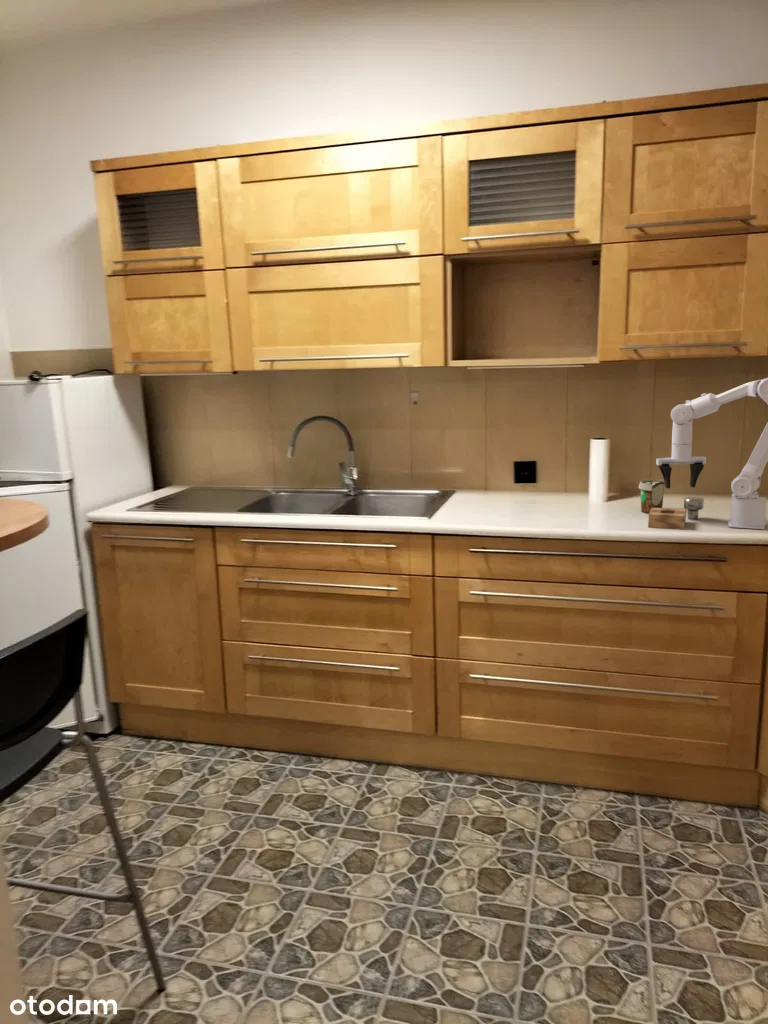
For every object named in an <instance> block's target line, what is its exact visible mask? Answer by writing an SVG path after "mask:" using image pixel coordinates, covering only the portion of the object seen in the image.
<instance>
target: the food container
mask: <svg viewBox="0 0 768 1024" xmlns="http://www.w3.org/2000/svg"><path fill="white" fill-rule="evenodd" d="M638 489H639V490H640V509H641V512H642V513H644V514H646V515H649V512H650V510H651V508H664V507H663V505H664V492H665V491H664V489H665V482H664V478H646V479H642V480H640V482H639V485H638Z"/></svg>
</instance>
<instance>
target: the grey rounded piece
mask: <svg viewBox="0 0 768 1024" xmlns="http://www.w3.org/2000/svg"><path fill="white" fill-rule="evenodd" d="M704 501H705V498H703V497H699V496H686V497H684V499H683V509H686V510H687V520H690V521H695V520H696V521H697V520H699V511H700V510H703V509H704V503H705V502H704Z"/></svg>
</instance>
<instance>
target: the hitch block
mask: <svg viewBox="0 0 768 1024" xmlns="http://www.w3.org/2000/svg"><path fill="white" fill-rule="evenodd" d="M686 514H687V509H685V508H668V507H666V508H665V507H662V508H651V510H650V512H649V514H648V524H647V528H655V529H671V530H685V526H686V520H687V519H686V517H687V516H686Z"/></svg>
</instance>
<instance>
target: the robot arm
mask: <svg viewBox="0 0 768 1024" xmlns="http://www.w3.org/2000/svg"><path fill="white" fill-rule="evenodd" d="M745 397H753V398H756V397H760V399H762V400H763V401H764V402H765V403H766V404H767V405H768V377H766V378H762V379H758V380H757V379H756V380H753V381H749V382H746V383H743V384H741V385H738V386H737V387H736V386H735V387H734V388H731V389H729V390H726V391H724V392H721V393H719V394H714V393H712V392H709V393H707V392H704V393H702V394H700V396H699V397H696V398H694V399H691V400H690V399H688V400H685V403H681V404H677V405H676V406H674V407H673V408H672V409H671V411H670V419H671V420H672V430H671V455H670V457H660V458H656V460H655V461H656V462H655V464H656V466H658V468H659V471H660V472H661V474H662V479H664V482H665V485H664V488H666V489H671V475H672V470H673V468H672V467H671V465H689V469H690V479H689V481H690V482H689V485H690V486H689V487H691V488H696V484H697V481H698V478H699V476H700V474H701V472H702V471H703V470H704V466H705V465H704V464H707V457H706V456H692V452H693V451H692V448H693V447H692V446H693V444H692V443H693V420H694V419H695V420H697V419H699V418H702V417H705V416H708V415H710V414H713V413H715V412H718V411H719V408H720V407H721V405H724V404H727V403H730V402H734V401H735V400H739V399H741V398H745ZM767 463H768V421H767V422H766V425H765V426H764V428H763V431H762V432H761V434H760V437H759V438H758V440H757V441H756V444H755V446H754V448H753V450H752V452H751V454H750V456H749V458H748V460H747V462H746V464H745V465H744V467H743V468H742V470H741V471H740V473H739V475H737V476H736V477H735V478H733V480H732V481H731V483H730V484H731V485H730V489H731V492H732V493H731V502H730V514H729V515H730V520H728V521H727V523H728V528H734V529H754V530H755V529H756V530H765V525H766V522H767V516H766V511H767V498H766V497H763V496H760V494H759V493H758V491H757V490H758V489H759V488H760V487H761V477H762V475H763V473H764V469H765V467H766V464H767Z"/></svg>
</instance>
